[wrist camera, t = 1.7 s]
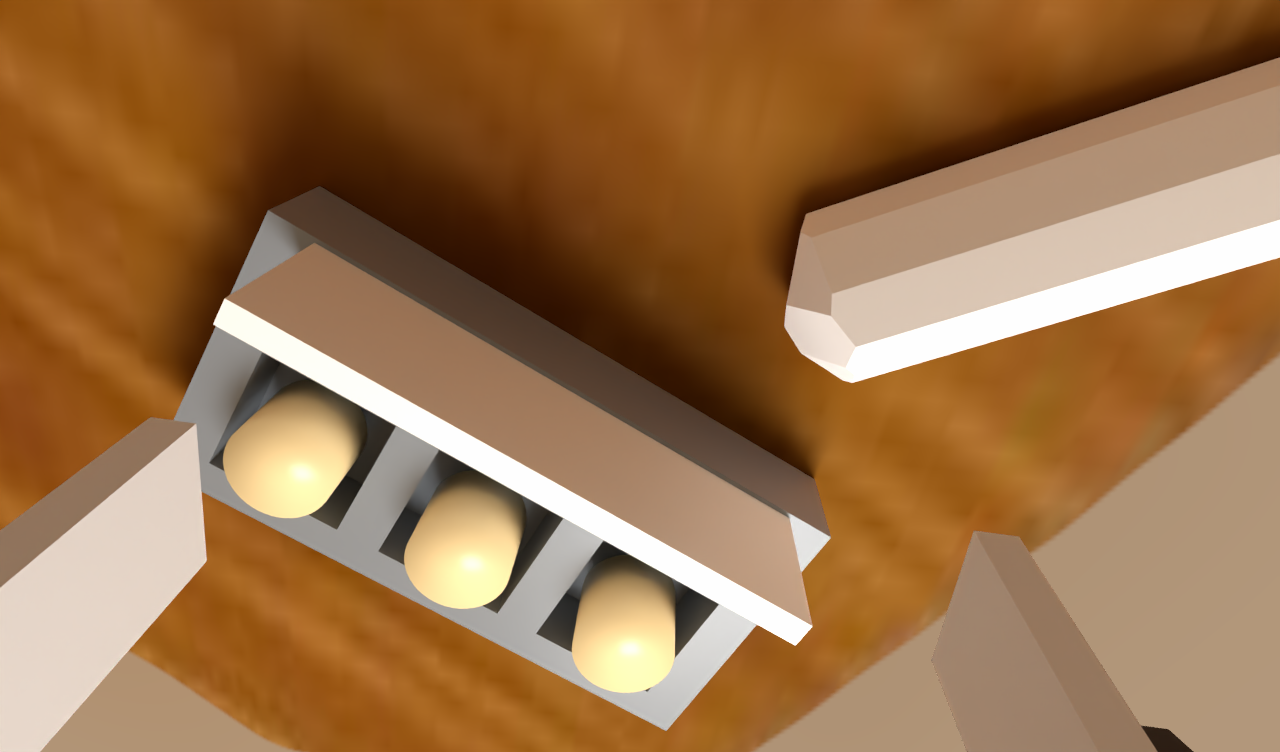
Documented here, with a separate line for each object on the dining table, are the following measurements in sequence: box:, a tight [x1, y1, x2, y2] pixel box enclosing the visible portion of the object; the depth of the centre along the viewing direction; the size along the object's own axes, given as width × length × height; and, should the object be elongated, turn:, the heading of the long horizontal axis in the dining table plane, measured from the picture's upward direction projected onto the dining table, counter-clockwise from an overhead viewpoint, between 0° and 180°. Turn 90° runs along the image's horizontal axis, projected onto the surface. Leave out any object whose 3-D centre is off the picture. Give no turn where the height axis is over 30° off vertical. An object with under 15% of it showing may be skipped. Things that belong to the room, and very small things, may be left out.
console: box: [174, 186, 831, 731], centre depth 36 cm, size 26×13×12 cm, turn 58°
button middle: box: [404, 470, 527, 609], centre depth 37 cm, size 4×4×4 cm
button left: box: [223, 380, 368, 518], centre depth 36 cm, size 4×4×4 cm
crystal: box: [784, 57, 1280, 383], centre depth 34 cm, size 7×7×24 cm
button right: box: [572, 555, 676, 693], centre depth 39 cm, size 4×4×4 cm
